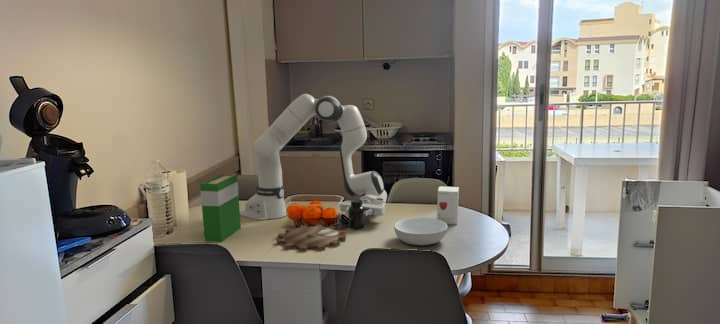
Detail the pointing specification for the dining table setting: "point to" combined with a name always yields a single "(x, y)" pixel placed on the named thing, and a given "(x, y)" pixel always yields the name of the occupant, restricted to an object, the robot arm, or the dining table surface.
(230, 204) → the green cereal box
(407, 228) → the serving bowl
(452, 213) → the supplement box
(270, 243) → the dining table surface
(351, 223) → the supplement bottle
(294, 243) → the sprocket wheel
